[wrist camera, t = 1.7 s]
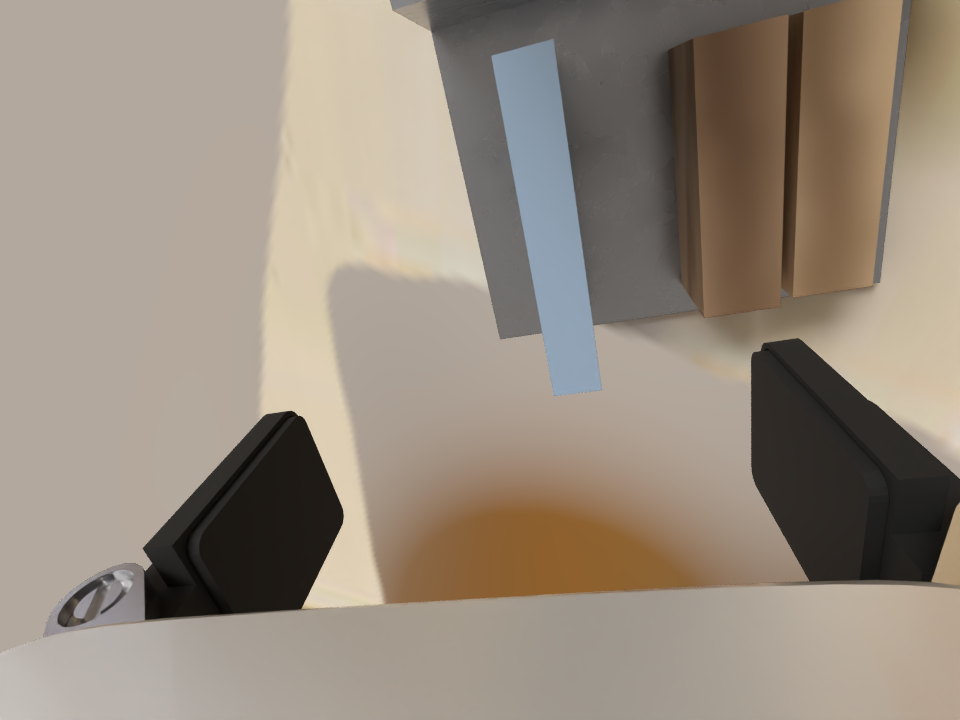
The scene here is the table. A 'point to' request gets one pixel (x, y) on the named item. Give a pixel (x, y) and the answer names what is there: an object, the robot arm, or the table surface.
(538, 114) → the sheet
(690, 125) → the offcut tall
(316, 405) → the table surface
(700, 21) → the rack
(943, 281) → the table surface
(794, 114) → the offcut short
